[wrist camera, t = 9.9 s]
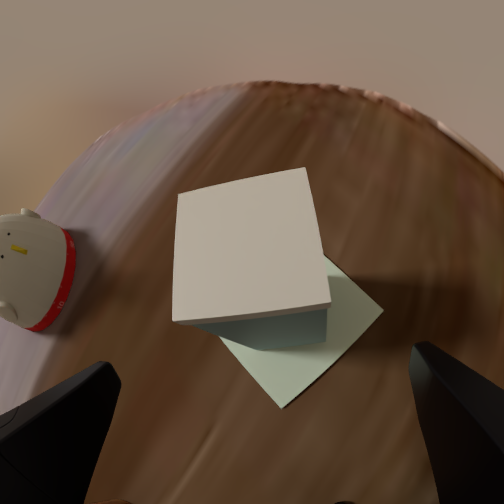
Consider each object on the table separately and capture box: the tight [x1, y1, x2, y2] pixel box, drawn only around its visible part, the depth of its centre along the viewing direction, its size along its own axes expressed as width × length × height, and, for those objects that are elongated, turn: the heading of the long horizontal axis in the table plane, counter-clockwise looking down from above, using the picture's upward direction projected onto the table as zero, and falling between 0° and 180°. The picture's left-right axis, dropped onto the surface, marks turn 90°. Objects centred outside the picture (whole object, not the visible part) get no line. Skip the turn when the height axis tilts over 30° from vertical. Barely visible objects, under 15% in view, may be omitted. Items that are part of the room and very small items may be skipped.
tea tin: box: [172, 167, 331, 350], centre depth 15 cm, size 5×5×12 cm
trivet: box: [219, 256, 384, 408], centre depth 21 cm, size 10×10×1 cm
